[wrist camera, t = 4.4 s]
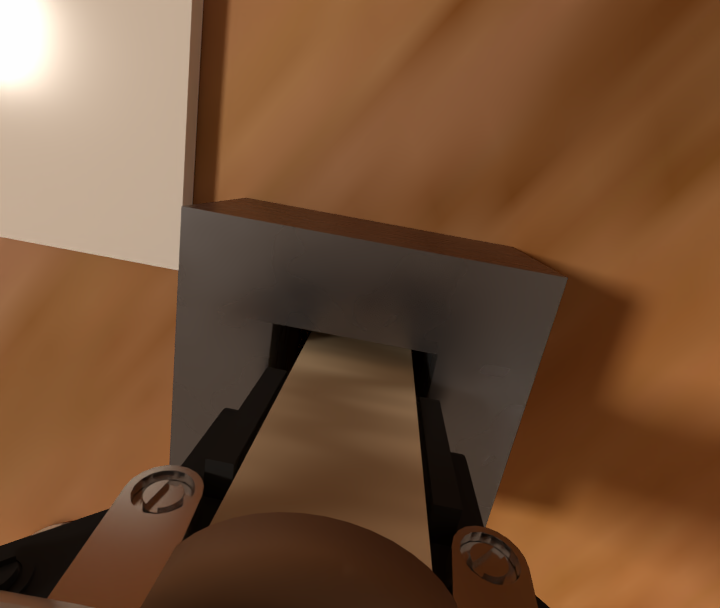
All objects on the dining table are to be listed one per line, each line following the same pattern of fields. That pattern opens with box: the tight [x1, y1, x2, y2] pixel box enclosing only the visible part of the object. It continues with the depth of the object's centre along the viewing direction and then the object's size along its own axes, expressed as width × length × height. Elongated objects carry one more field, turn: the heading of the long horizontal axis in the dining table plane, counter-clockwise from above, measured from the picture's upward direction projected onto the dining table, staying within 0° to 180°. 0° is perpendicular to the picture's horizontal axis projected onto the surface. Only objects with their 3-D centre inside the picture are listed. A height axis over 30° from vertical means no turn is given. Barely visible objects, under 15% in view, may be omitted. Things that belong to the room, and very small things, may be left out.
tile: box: [0, 0, 203, 270], centre depth 15 cm, size 10×10×1 cm
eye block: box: [170, 198, 568, 527], centre depth 14 cm, size 10×10×5 cm
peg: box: [140, 331, 457, 608], centre depth 11 cm, size 5×5×12 cm
